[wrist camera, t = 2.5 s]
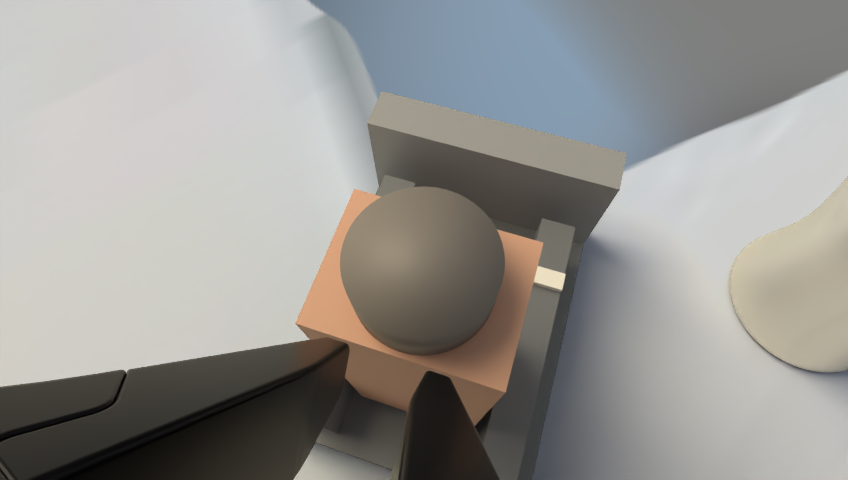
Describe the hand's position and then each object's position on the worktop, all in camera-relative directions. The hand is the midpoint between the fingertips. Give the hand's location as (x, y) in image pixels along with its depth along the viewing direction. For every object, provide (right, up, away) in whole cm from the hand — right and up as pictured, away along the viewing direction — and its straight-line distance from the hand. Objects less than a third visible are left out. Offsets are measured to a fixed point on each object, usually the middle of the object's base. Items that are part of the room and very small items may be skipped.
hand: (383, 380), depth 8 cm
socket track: (+2, -1, +13) cm, 13 cm away
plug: (+1, -3, +11) cm, 11 cm away
